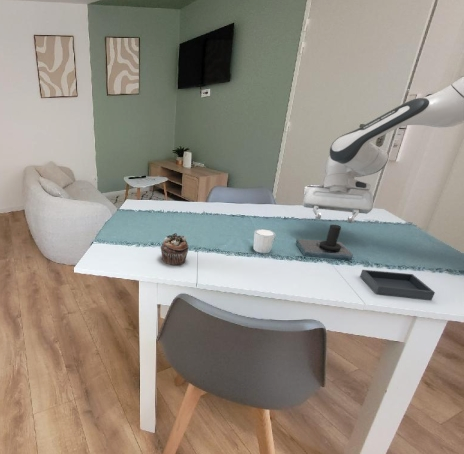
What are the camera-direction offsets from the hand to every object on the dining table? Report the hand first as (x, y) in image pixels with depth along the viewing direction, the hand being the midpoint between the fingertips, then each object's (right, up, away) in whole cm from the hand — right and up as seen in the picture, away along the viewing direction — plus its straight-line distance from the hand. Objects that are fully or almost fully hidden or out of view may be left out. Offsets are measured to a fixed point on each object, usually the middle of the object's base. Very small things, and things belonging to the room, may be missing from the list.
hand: (333, 220), depth 104 cm
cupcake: (-58, -14, 0) cm, 60 cm away
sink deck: (-4, -11, 0) cm, 12 cm away
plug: (-2, -11, 0) cm, 12 cm away
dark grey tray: (0, -20, -21) cm, 29 cm away
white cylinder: (-24, -11, +4) cm, 27 cm away
